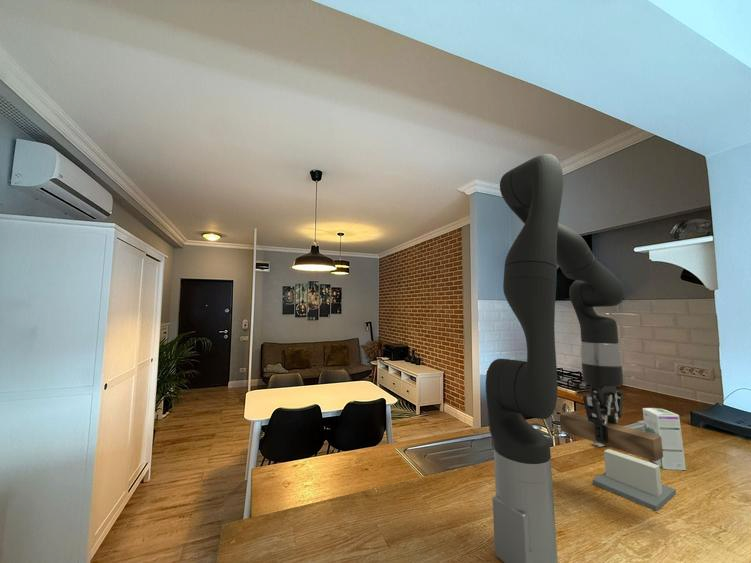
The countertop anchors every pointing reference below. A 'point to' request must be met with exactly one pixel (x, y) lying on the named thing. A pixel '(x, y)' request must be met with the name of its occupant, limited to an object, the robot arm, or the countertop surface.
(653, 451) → the walnut bar
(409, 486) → the countertop surface
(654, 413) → the syrup box
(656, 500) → the board
